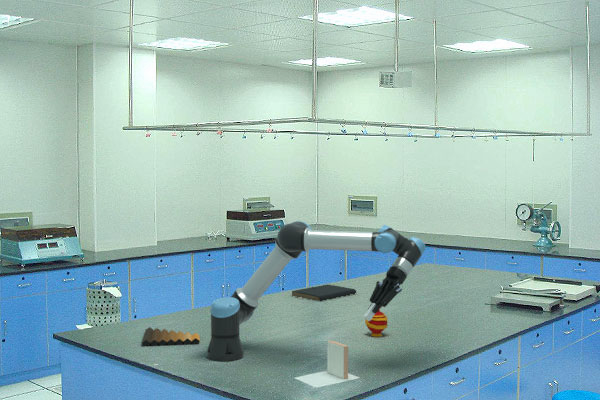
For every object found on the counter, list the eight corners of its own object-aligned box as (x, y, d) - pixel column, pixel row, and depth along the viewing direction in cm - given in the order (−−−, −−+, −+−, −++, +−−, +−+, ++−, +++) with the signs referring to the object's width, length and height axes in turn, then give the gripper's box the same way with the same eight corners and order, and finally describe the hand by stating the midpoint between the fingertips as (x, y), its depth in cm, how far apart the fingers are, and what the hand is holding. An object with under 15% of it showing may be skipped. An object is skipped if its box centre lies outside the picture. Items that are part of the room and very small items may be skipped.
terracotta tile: (331, 371, 256) (331, 340, 256) (348, 378, 248) (348, 345, 248) (327, 372, 255) (327, 341, 255) (343, 379, 247) (343, 346, 246)
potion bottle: (375, 331, 322) (375, 300, 322) (392, 335, 315) (392, 303, 314) (360, 335, 316) (360, 303, 315) (376, 339, 308) (377, 306, 307)
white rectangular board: (336, 370, 260) (336, 368, 260) (360, 379, 249) (360, 377, 249) (293, 379, 249) (293, 377, 249) (316, 389, 237) (316, 387, 237)
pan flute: (145, 334, 320) (141, 347, 296) (145, 327, 320) (141, 340, 296) (199, 332, 324) (199, 345, 300) (199, 325, 324) (199, 337, 300)
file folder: (327, 283, 438) (356, 288, 421) (327, 290, 438) (356, 295, 421) (291, 290, 414) (320, 296, 397) (291, 297, 414) (320, 303, 397)
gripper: (415, 279, 264) (383, 327, 255) (392, 275, 275) (361, 321, 266) (405, 267, 261) (372, 315, 252) (382, 263, 271) (350, 309, 262)
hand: (366, 318), depth 259 cm, fingers closed
